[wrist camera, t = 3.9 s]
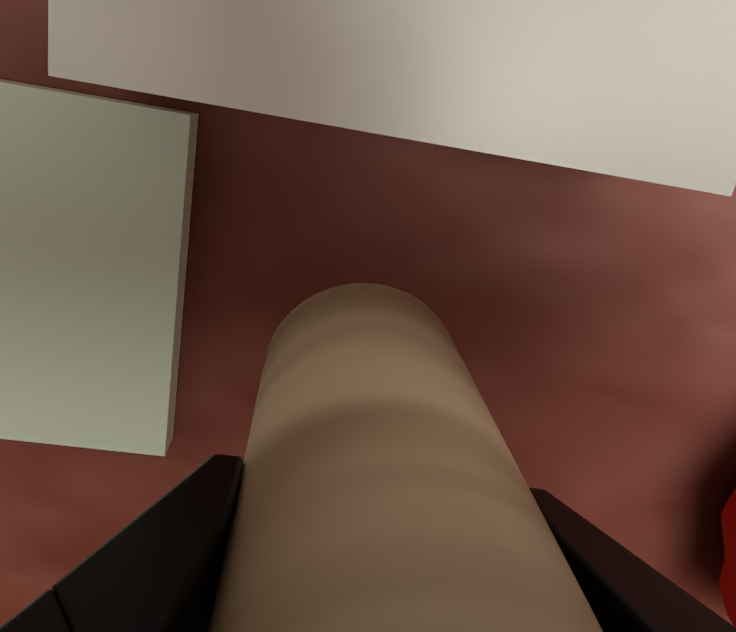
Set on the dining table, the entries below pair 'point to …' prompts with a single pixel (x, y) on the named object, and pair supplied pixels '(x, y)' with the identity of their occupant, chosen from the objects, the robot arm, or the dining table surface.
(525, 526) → the tan cylinder
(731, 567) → the tomato
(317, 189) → the dining table surface
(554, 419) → the dining table surface
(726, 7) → the box
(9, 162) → the rest pad
